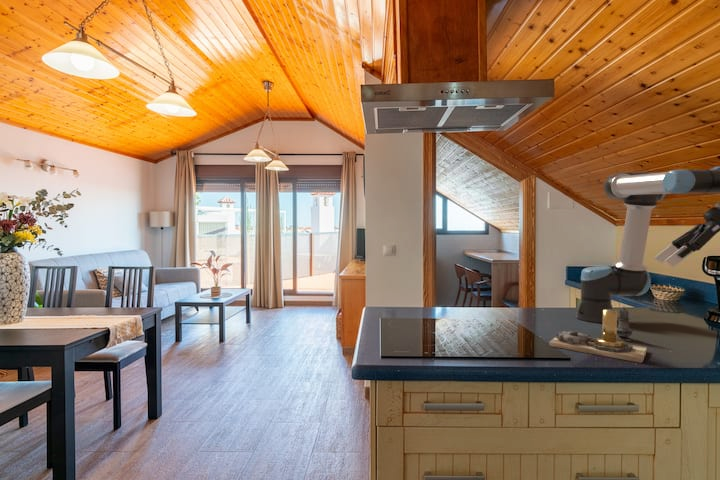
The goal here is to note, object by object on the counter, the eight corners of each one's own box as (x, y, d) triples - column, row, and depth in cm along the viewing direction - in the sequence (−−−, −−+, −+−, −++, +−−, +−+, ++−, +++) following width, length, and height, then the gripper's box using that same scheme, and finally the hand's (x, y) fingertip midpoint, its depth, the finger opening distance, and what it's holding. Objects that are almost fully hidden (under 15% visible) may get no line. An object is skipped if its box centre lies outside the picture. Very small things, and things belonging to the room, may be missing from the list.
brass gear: (596, 341, 135) (597, 306, 135) (626, 345, 130) (627, 310, 129) (591, 346, 129) (592, 310, 128) (622, 352, 123) (623, 314, 123)
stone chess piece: (636, 341, 140) (636, 308, 139) (618, 340, 141) (618, 307, 141) (628, 337, 146) (629, 305, 145) (611, 336, 147) (611, 304, 146)
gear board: (560, 337, 145) (560, 325, 145) (646, 351, 128) (646, 338, 128) (549, 346, 135) (549, 333, 135) (641, 362, 118) (642, 348, 118)
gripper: (756, 222, 107) (685, 274, 114) (720, 223, 129) (663, 267, 136) (730, 203, 109) (663, 255, 116) (700, 207, 131) (645, 251, 138)
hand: (663, 262), depth 126 cm, fingers open, 13 cm apart
